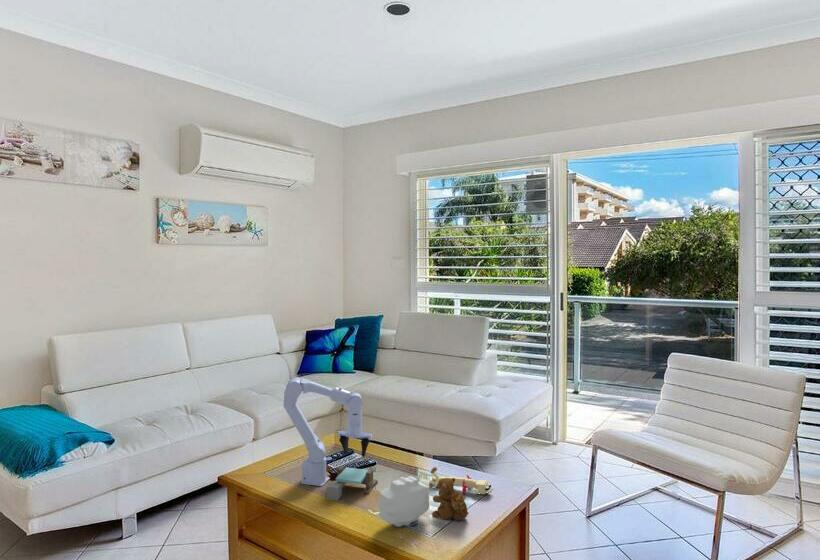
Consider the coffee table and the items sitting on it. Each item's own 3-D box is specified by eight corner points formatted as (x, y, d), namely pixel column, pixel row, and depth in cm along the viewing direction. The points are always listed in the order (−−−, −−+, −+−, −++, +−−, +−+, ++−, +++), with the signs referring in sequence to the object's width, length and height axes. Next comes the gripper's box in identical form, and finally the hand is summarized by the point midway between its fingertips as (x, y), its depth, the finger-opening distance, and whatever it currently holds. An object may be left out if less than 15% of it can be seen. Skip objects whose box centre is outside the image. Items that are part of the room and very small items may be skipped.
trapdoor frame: (335, 488, 206) (335, 470, 206) (345, 478, 216) (345, 460, 215) (369, 493, 202) (369, 474, 202) (377, 482, 212) (377, 464, 212)
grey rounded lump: (433, 521, 181) (433, 476, 180) (390, 537, 170) (391, 489, 170) (414, 509, 190) (414, 466, 189) (372, 523, 179) (373, 478, 178)
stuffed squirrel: (446, 505, 194) (446, 470, 193) (476, 518, 184) (476, 482, 183) (427, 513, 186) (428, 478, 186) (457, 528, 176) (458, 490, 176)
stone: (326, 499, 197) (326, 486, 197) (330, 494, 201) (330, 481, 201) (337, 500, 196) (337, 487, 196) (341, 495, 200) (341, 482, 200)
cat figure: (427, 493, 206) (489, 499, 197) (426, 471, 206) (487, 476, 197) (435, 483, 215) (494, 488, 206) (434, 462, 215) (493, 466, 206)
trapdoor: (335, 489, 201) (335, 478, 200) (346, 478, 211) (346, 467, 211) (359, 493, 198) (359, 481, 198) (369, 481, 209) (369, 470, 208)
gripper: (334, 424, 212) (334, 456, 212) (368, 427, 208) (368, 460, 208) (341, 418, 219) (341, 450, 219) (374, 421, 215) (373, 454, 215)
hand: (354, 455), depth 214 cm, fingers open, 7 cm apart
